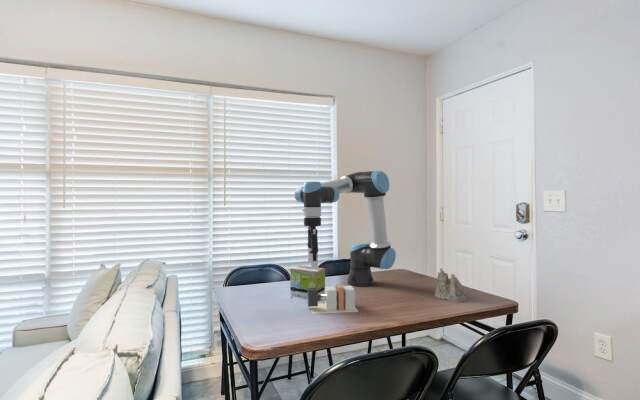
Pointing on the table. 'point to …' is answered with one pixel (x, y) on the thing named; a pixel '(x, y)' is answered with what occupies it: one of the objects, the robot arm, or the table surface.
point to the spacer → (340, 296)
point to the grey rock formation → (449, 287)
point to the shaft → (316, 297)
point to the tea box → (306, 280)
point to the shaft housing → (331, 302)
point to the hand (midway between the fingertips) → (312, 265)
